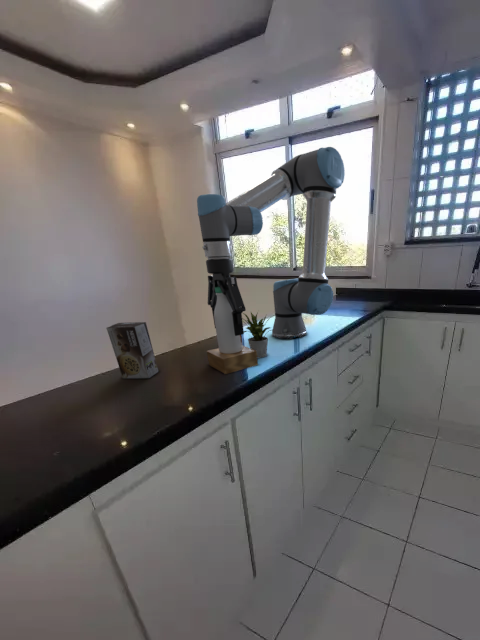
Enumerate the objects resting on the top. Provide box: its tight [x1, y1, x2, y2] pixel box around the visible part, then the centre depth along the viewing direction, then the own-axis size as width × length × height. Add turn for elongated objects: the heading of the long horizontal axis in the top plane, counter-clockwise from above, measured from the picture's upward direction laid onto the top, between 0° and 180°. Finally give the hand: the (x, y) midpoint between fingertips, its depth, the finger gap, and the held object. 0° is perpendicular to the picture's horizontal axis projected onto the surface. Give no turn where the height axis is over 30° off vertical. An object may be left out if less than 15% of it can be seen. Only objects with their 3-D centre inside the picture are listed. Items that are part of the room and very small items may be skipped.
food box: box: [105, 321, 159, 379], centre depth 95 cm, size 9×6×16 cm
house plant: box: [242, 309, 275, 359], centre depth 109 cm, size 14×14×16 cm
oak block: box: [206, 345, 259, 375], centre depth 103 cm, size 12×12×5 cm
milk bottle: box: [213, 287, 244, 354], centre depth 97 cm, size 8×8×20 cm
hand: (228, 331), depth 99 cm, fingers open, 13 cm apart
